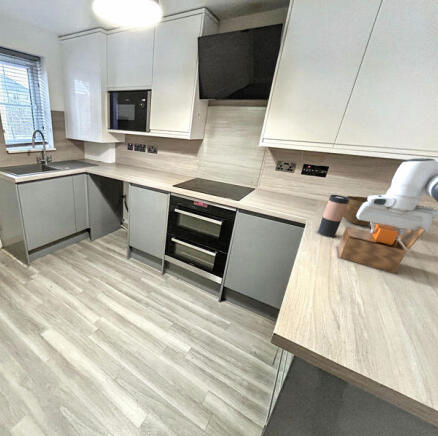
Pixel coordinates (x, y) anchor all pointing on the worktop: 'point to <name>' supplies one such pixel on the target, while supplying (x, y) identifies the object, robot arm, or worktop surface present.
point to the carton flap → (411, 237)
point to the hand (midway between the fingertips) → (383, 235)
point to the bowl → (355, 210)
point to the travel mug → (333, 215)
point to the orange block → (385, 234)
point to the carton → (370, 250)
